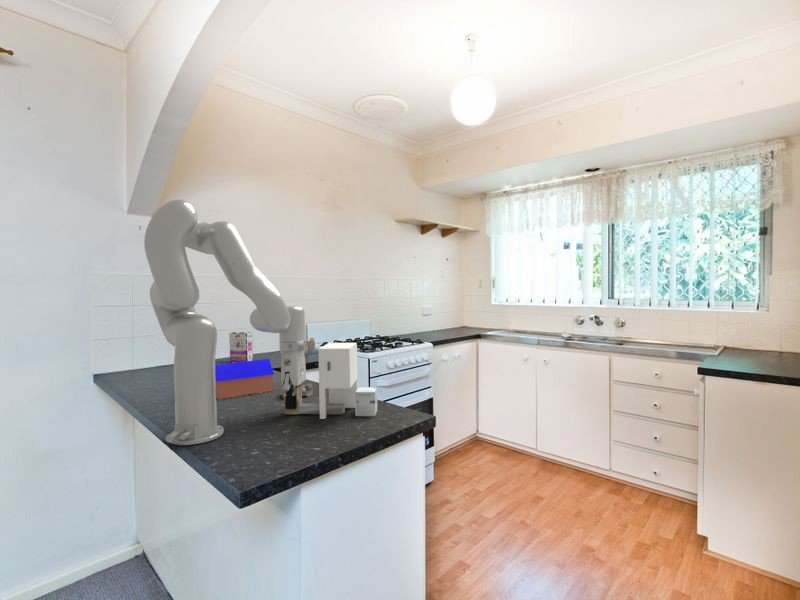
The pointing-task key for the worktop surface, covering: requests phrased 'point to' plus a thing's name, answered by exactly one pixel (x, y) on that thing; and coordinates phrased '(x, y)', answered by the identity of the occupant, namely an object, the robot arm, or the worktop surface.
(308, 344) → the ruin model on sheet
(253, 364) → the house
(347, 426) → the worktop surface
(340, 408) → the push stick
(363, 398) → the skincare box
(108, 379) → the worktop surface
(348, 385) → the cabinet
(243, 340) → the candy bar box
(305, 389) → the egg carton
